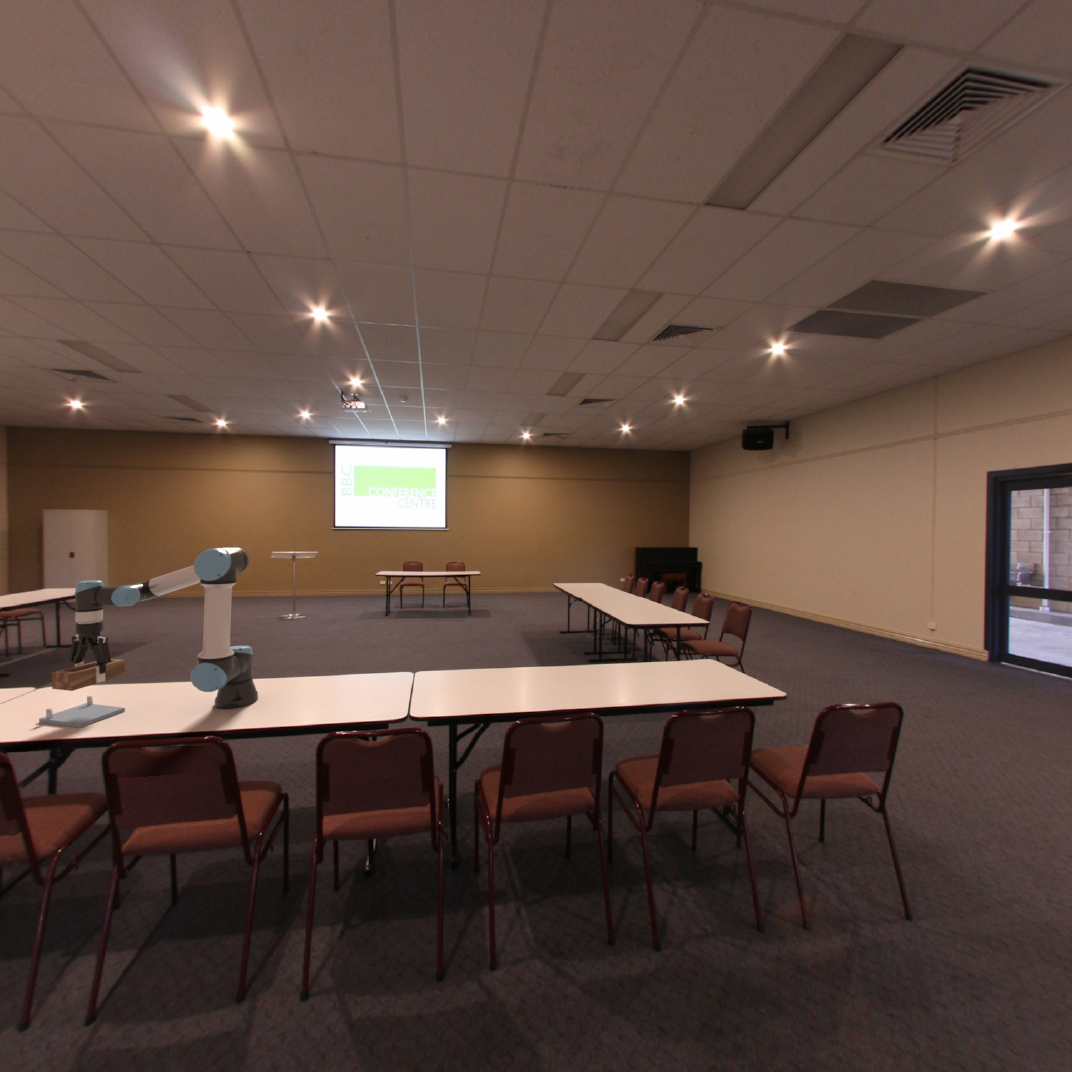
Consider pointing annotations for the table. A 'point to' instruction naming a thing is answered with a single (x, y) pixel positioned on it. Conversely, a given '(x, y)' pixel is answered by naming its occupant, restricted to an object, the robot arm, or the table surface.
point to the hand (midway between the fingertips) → (90, 680)
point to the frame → (85, 675)
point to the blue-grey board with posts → (81, 714)
